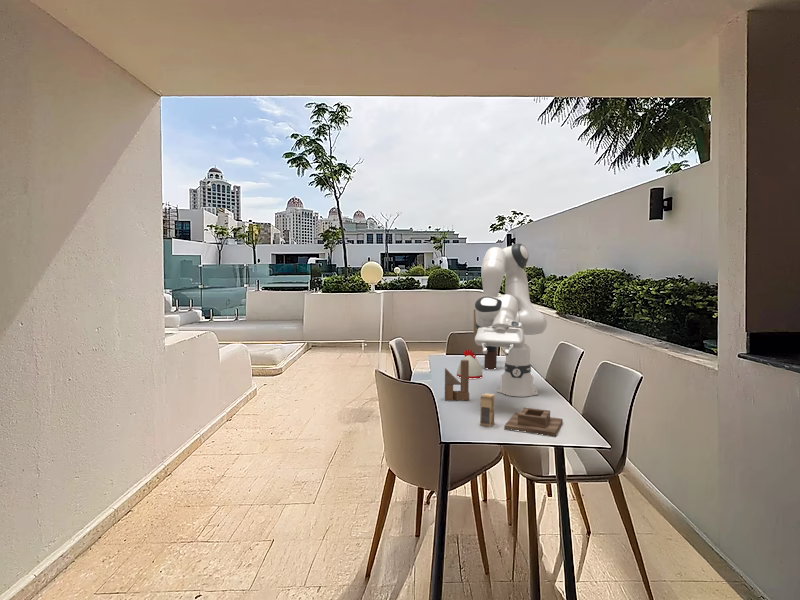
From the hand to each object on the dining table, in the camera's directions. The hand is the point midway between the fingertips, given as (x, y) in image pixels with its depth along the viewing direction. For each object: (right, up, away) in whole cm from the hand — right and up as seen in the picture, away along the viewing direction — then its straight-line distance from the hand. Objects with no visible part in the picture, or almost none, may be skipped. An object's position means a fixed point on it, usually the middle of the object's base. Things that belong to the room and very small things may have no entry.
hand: (495, 353), depth 197 cm
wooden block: (-13, -24, +23) cm, 36 cm away
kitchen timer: (0, -21, +72) cm, 75 cm away
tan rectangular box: (-6, -25, -12) cm, 29 cm away
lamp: (+15, -19, +93) cm, 96 cm away
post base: (+12, -26, -14) cm, 31 cm away
